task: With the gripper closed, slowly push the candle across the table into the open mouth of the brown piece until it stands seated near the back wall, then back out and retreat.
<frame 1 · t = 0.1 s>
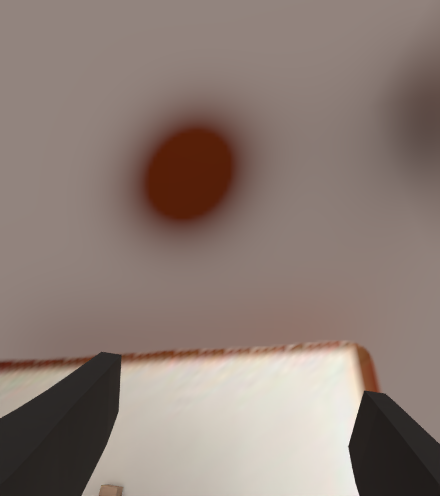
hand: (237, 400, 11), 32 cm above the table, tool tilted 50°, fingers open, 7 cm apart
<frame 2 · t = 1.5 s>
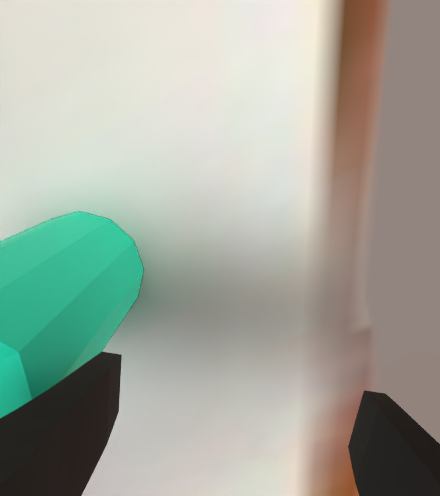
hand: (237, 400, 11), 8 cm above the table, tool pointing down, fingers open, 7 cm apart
candle: (87, 267, 20), on the table
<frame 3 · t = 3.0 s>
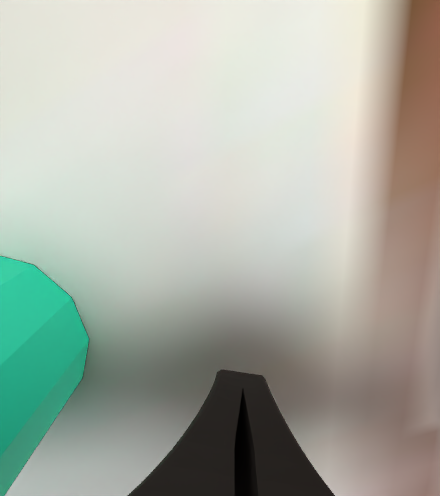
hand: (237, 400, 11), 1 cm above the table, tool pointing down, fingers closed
candle: (5, 334, 13), on the table
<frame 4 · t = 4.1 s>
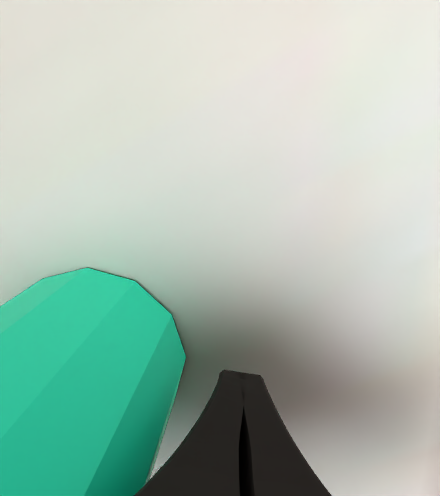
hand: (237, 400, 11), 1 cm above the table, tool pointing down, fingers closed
candle: (99, 349, 13), on the table, touching gripper
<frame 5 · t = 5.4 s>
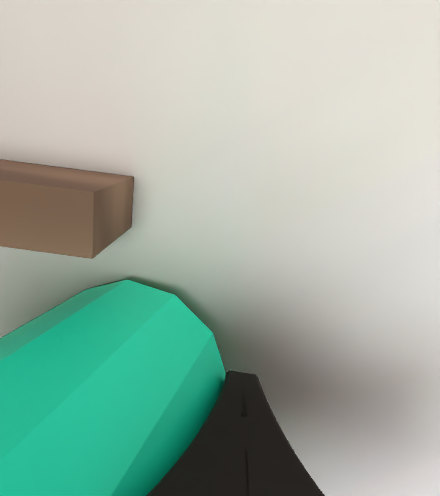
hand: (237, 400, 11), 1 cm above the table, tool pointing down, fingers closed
candle: (139, 365, 12), on the table, touching gripper
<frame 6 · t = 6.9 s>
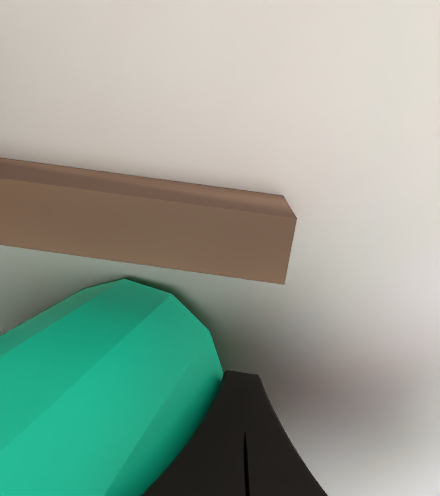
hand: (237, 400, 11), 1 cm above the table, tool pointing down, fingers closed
brown piece: (118, 355, 13), on the table
candle: (137, 364, 12), on the table, touching gripper
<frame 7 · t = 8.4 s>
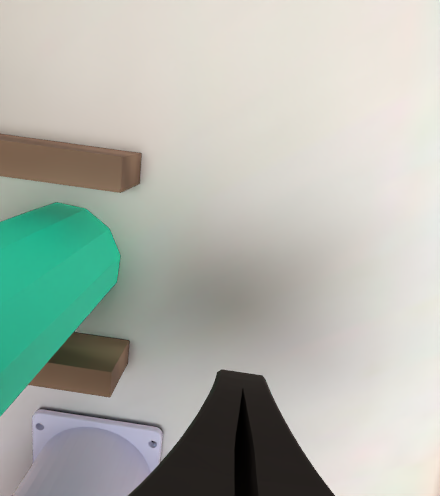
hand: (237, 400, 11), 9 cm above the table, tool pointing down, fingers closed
brown piece: (51, 255, 20), on the table
candle: (67, 256, 21), on the table
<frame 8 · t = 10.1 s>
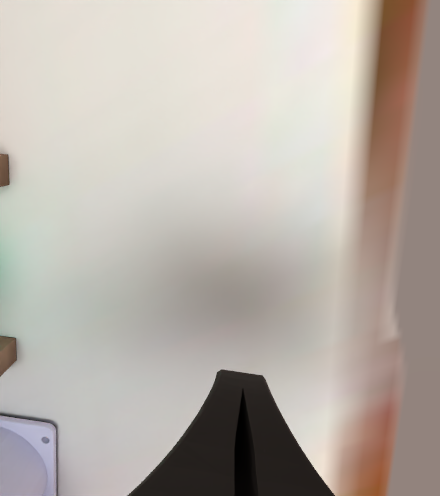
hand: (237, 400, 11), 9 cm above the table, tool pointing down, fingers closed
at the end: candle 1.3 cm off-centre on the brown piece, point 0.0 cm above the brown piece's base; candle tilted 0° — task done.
